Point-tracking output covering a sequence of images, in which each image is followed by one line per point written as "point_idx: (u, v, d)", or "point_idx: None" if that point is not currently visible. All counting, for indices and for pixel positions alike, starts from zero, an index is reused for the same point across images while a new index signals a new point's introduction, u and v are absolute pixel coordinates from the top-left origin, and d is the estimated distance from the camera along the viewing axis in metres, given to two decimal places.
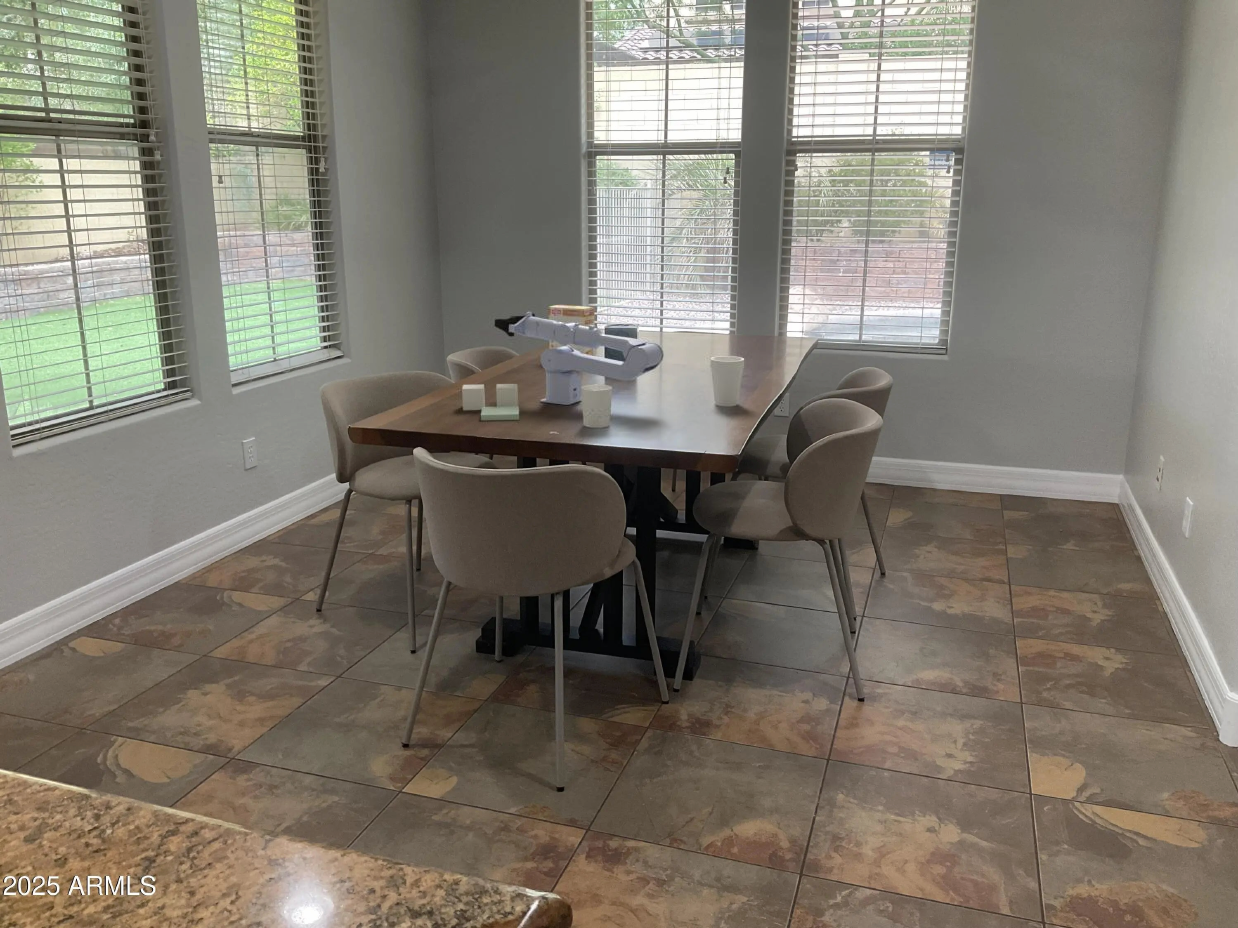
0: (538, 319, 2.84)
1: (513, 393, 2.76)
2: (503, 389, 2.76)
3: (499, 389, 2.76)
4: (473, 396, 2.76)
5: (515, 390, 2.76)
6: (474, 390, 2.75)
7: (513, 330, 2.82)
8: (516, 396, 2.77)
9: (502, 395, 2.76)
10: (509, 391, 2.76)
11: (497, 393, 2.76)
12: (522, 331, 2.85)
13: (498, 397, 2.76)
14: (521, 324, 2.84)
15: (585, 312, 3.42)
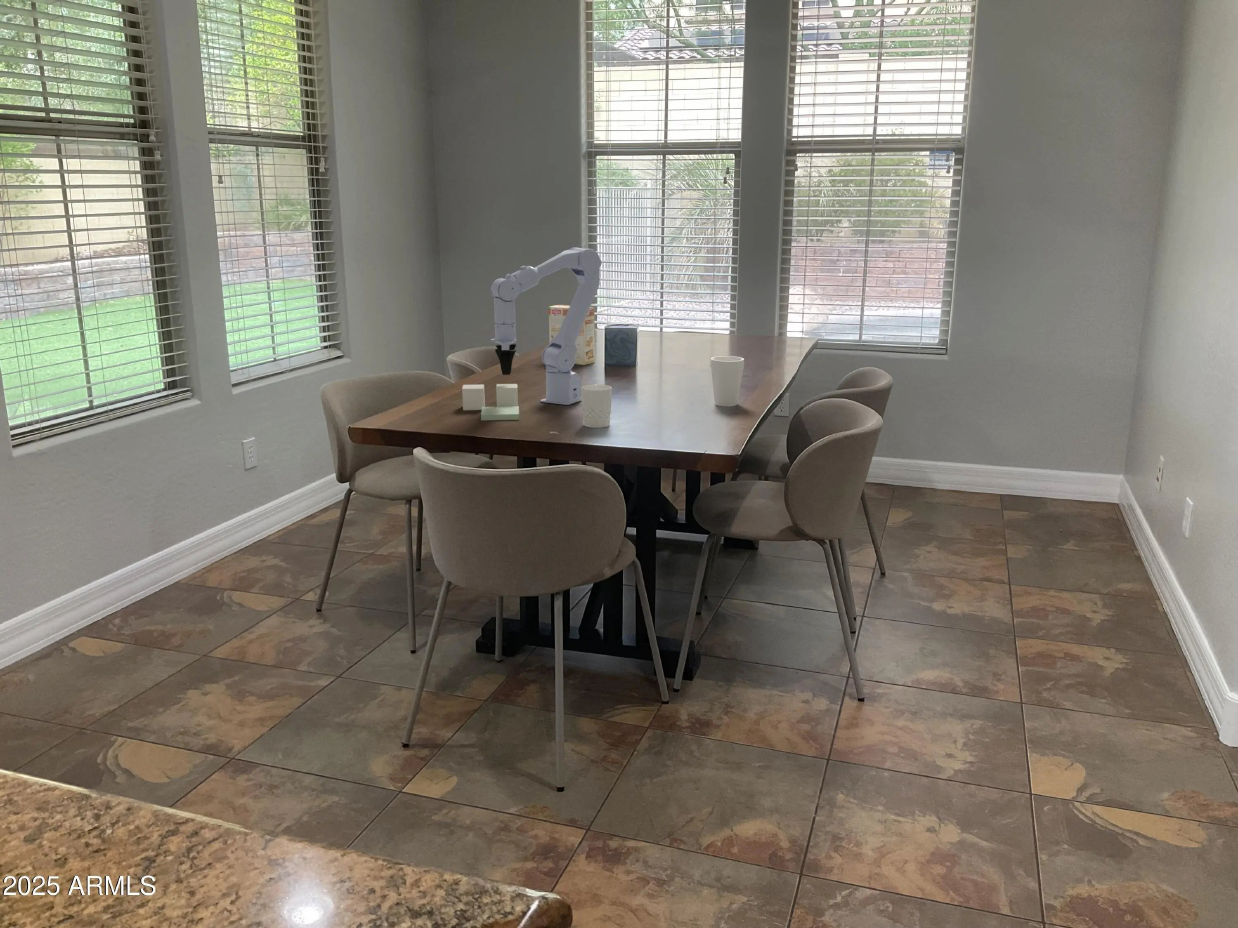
0: (495, 326, 2.73)
1: (513, 393, 2.76)
2: (503, 389, 2.76)
3: (499, 389, 2.76)
4: (473, 396, 2.76)
5: (515, 390, 2.76)
6: (474, 390, 2.75)
7: (506, 344, 2.68)
8: (516, 396, 2.77)
9: (502, 395, 2.76)
10: (509, 391, 2.76)
11: (497, 393, 2.76)
12: (509, 341, 2.73)
13: (498, 397, 2.76)
14: (502, 342, 2.72)
15: None
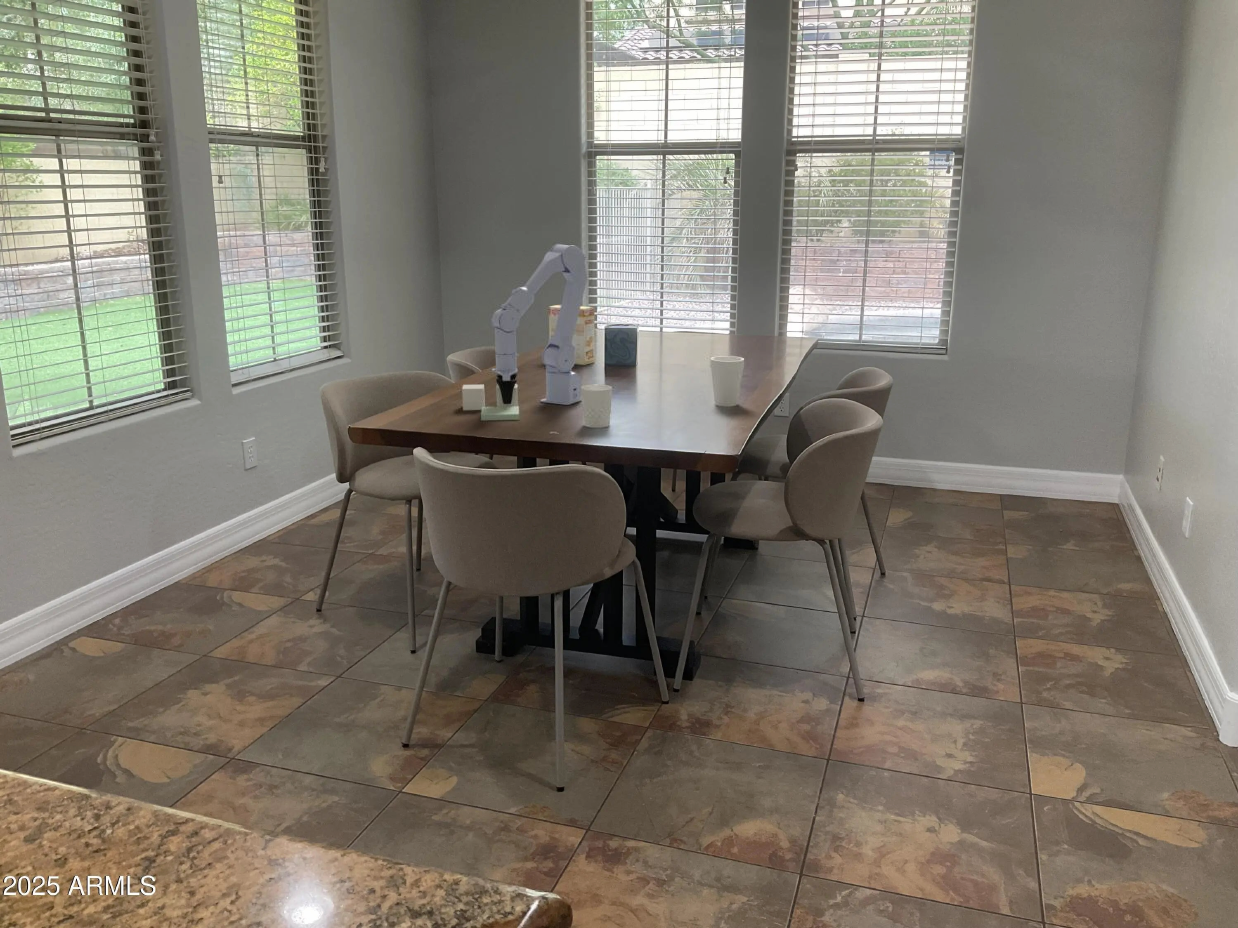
0: (496, 356, 2.75)
1: (513, 393, 2.76)
2: None
3: (499, 389, 2.76)
4: (473, 396, 2.76)
5: (515, 390, 2.76)
6: (474, 390, 2.75)
7: (507, 374, 2.71)
8: (516, 396, 2.77)
9: None
10: None
11: (497, 393, 2.76)
12: (510, 371, 2.75)
13: (498, 397, 2.76)
14: (503, 372, 2.74)
15: (585, 312, 3.42)
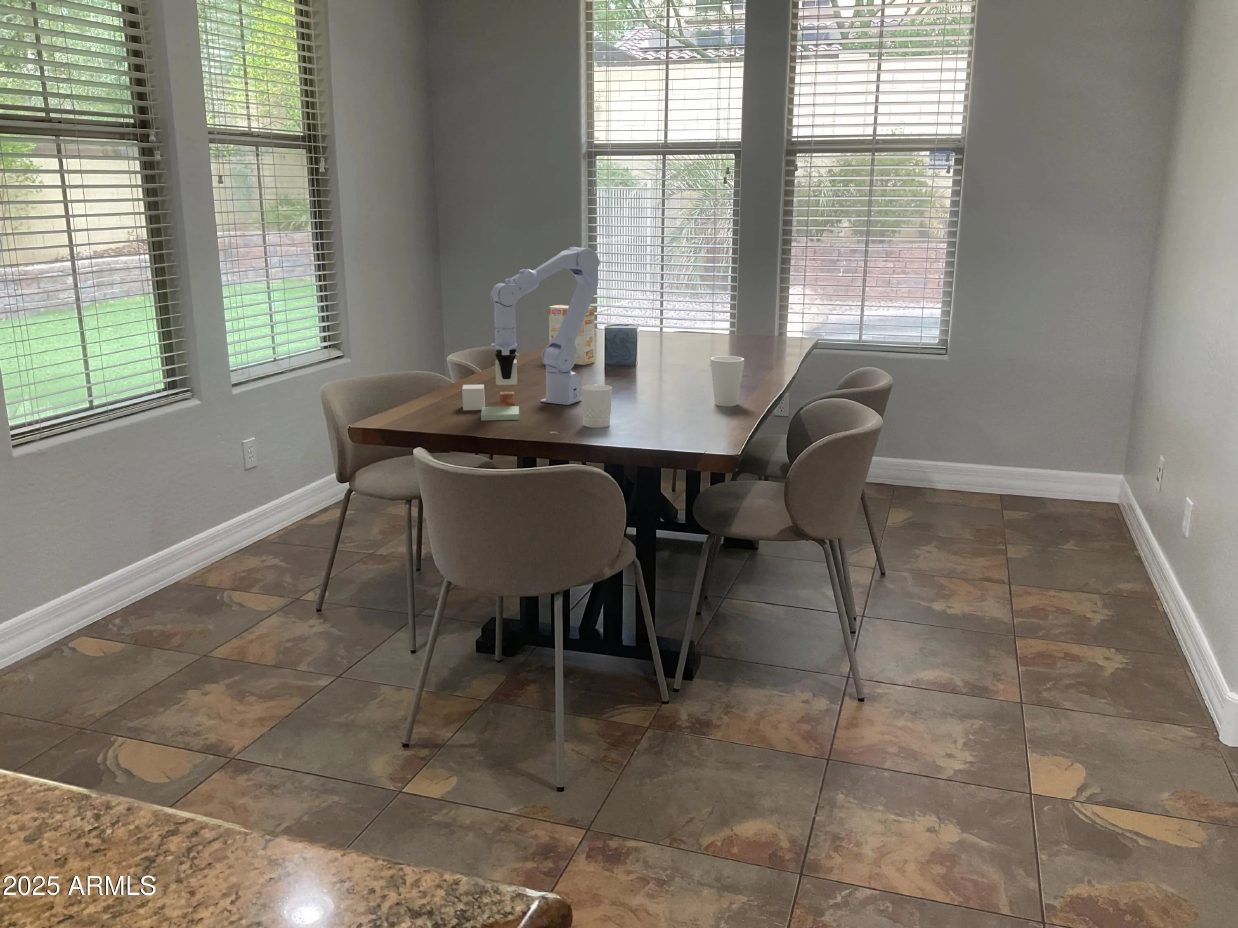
0: (495, 331, 2.73)
1: (512, 368, 2.75)
2: None
3: (498, 364, 2.74)
4: (473, 396, 2.76)
5: (514, 365, 2.74)
6: (474, 390, 2.75)
7: (507, 349, 2.69)
8: (515, 371, 2.75)
9: None
10: None
11: (496, 368, 2.74)
12: (510, 346, 2.73)
13: (497, 372, 2.75)
14: None
15: None
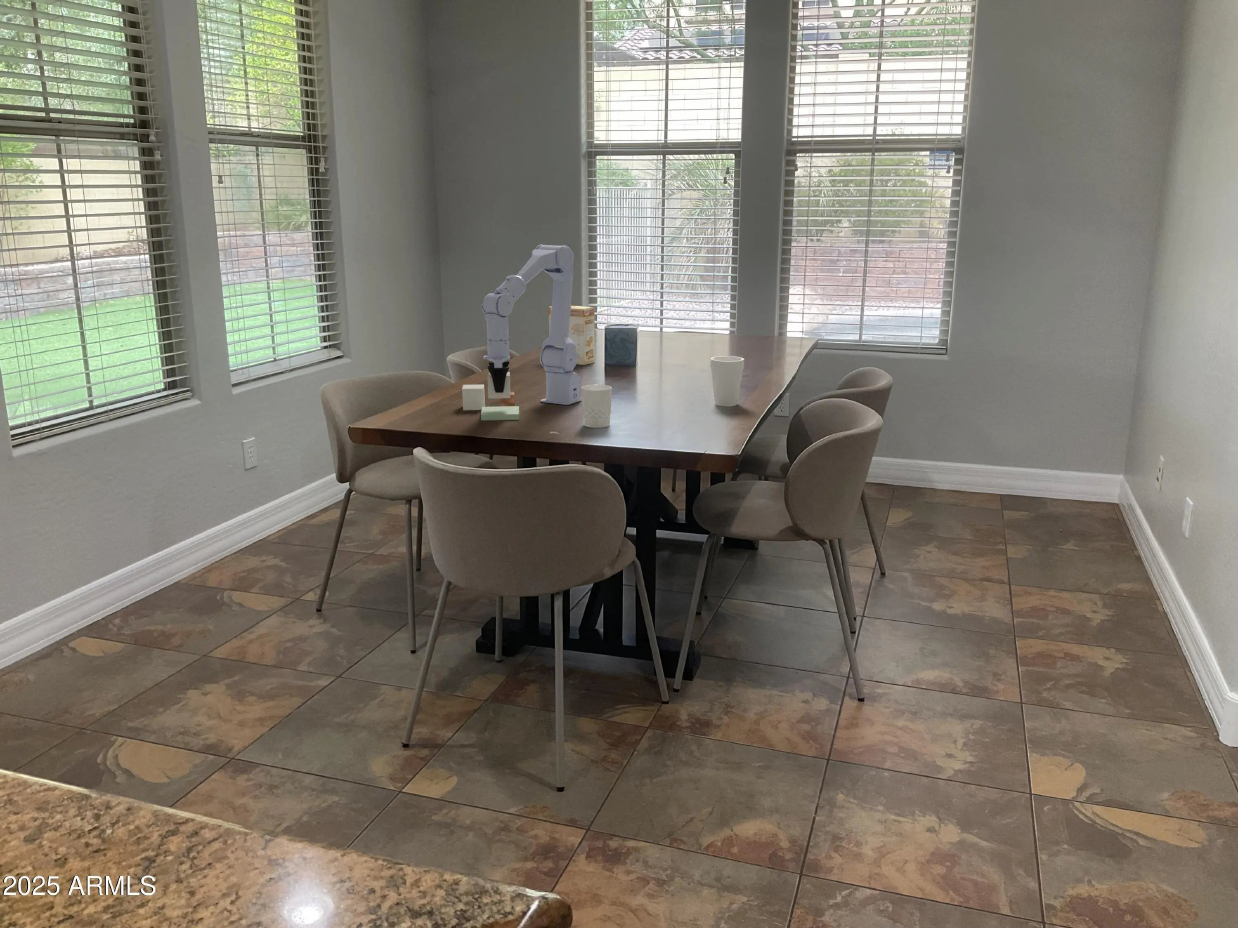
0: (487, 342, 2.63)
1: (505, 381, 2.64)
2: None
3: (490, 377, 2.64)
4: (473, 396, 2.76)
5: (507, 378, 2.64)
6: (474, 390, 2.75)
7: (499, 361, 2.58)
8: (508, 384, 2.65)
9: None
10: None
11: (488, 381, 2.64)
12: (502, 358, 2.63)
13: (489, 385, 2.64)
14: (495, 359, 2.62)
15: (585, 313, 3.42)
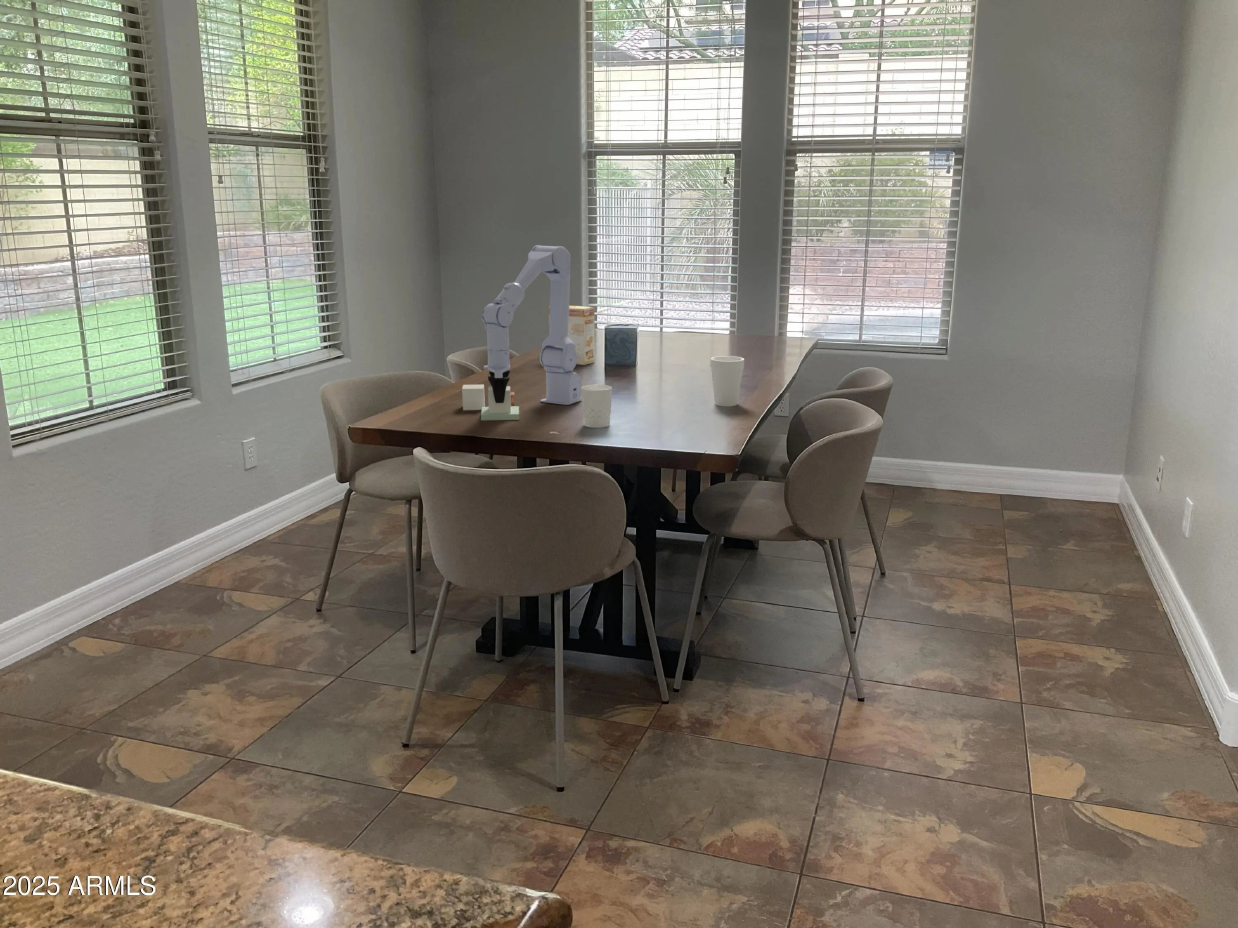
0: (488, 352, 2.64)
1: (506, 396, 2.65)
2: None
3: (491, 392, 2.65)
4: (473, 396, 2.76)
5: (508, 393, 2.65)
6: (474, 390, 2.75)
7: (500, 371, 2.59)
8: (509, 399, 2.66)
9: (494, 398, 2.65)
10: None
11: (489, 396, 2.65)
12: (503, 368, 2.63)
13: (490, 400, 2.65)
14: None
15: (585, 312, 3.42)
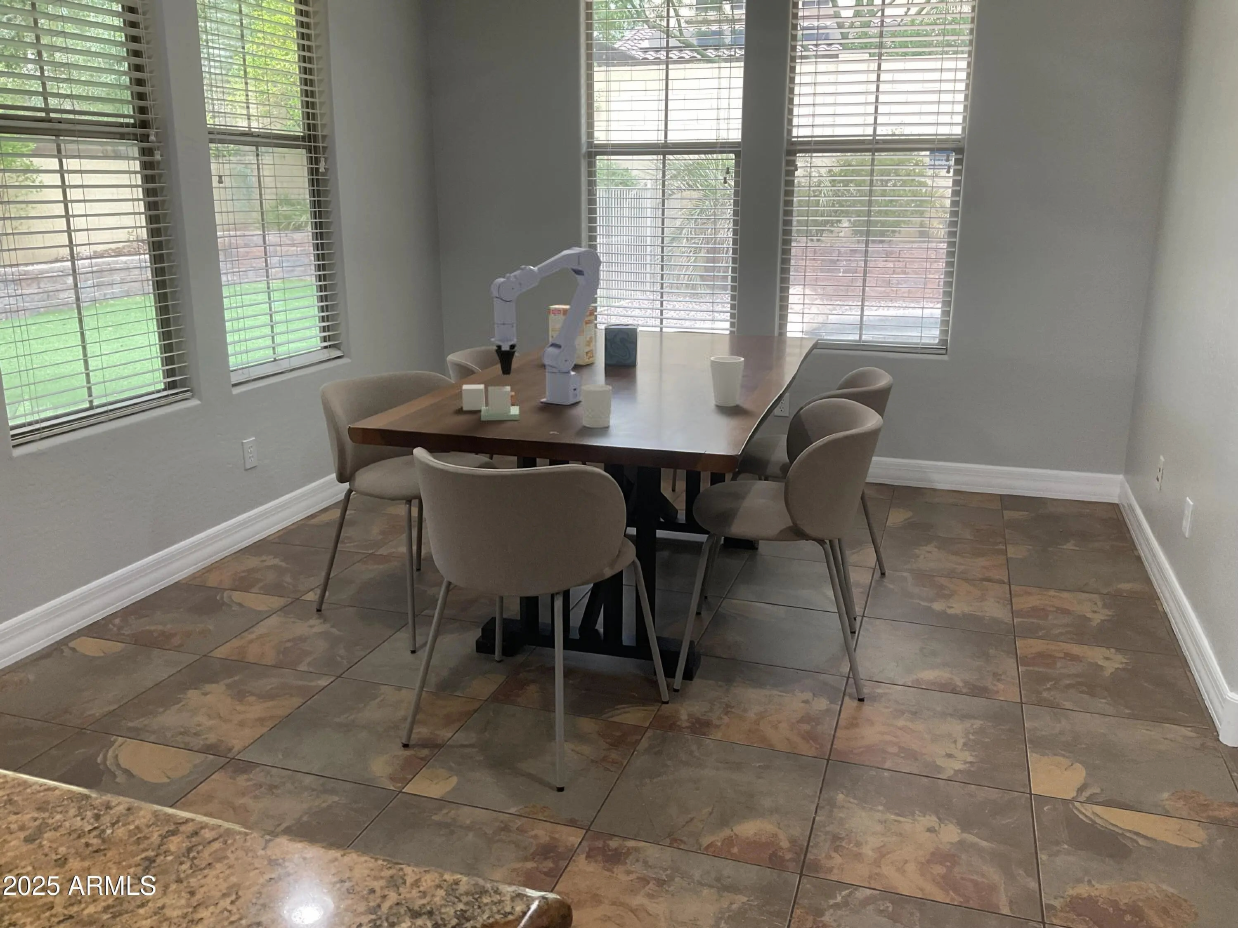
0: (495, 326, 2.73)
1: (506, 396, 2.65)
2: (495, 392, 2.65)
3: (491, 392, 2.65)
4: (473, 396, 2.76)
5: (508, 393, 2.65)
6: (474, 390, 2.75)
7: (506, 344, 2.68)
8: (509, 399, 2.66)
9: (494, 398, 2.65)
10: (501, 394, 2.65)
11: (489, 396, 2.65)
12: (509, 341, 2.73)
13: (490, 400, 2.65)
14: (502, 342, 2.72)
15: None
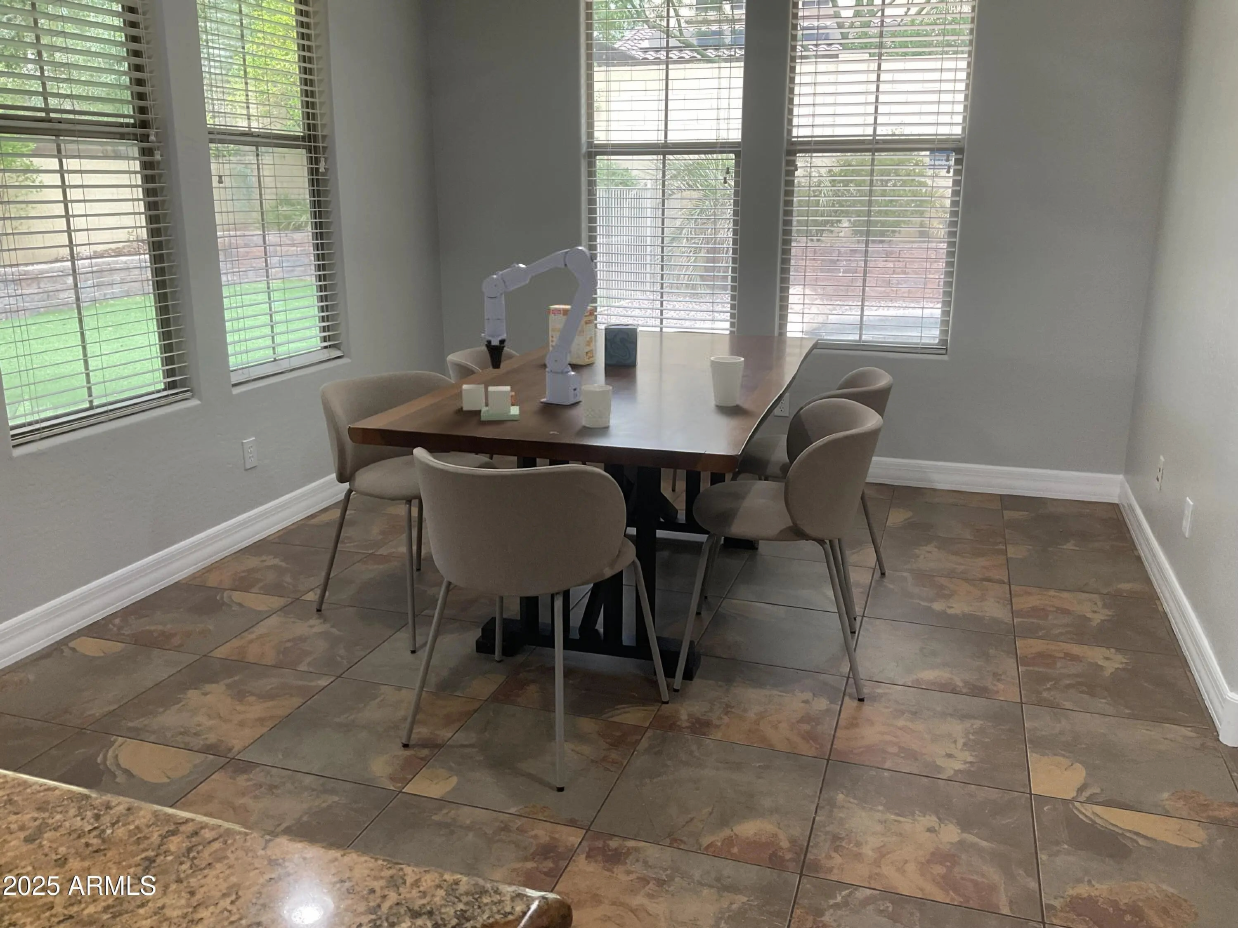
0: (485, 321, 2.82)
1: (506, 396, 2.65)
2: (495, 392, 2.65)
3: (491, 392, 2.65)
4: (473, 396, 2.76)
5: (508, 393, 2.65)
6: (474, 390, 2.75)
7: (496, 339, 2.77)
8: (509, 399, 2.66)
9: (494, 398, 2.65)
10: (501, 394, 2.65)
11: (489, 396, 2.65)
12: (499, 336, 2.81)
13: (490, 400, 2.65)
14: (492, 337, 2.81)
15: None
